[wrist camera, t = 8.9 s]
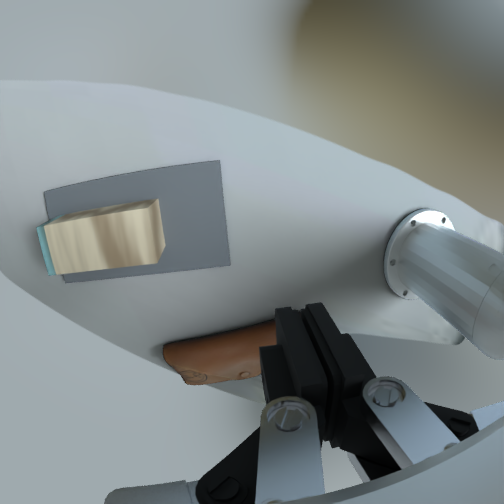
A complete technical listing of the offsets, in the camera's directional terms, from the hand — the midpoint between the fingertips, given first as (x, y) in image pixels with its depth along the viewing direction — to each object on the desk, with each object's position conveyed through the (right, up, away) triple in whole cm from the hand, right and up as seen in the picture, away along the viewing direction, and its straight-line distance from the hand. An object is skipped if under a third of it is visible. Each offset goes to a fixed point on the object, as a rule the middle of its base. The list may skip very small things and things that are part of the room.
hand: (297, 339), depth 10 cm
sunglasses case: (-3, -9, +27) cm, 28 cm away
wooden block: (-11, +5, +16) cm, 20 cm away
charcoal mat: (-14, +6, +19) cm, 25 cm away
